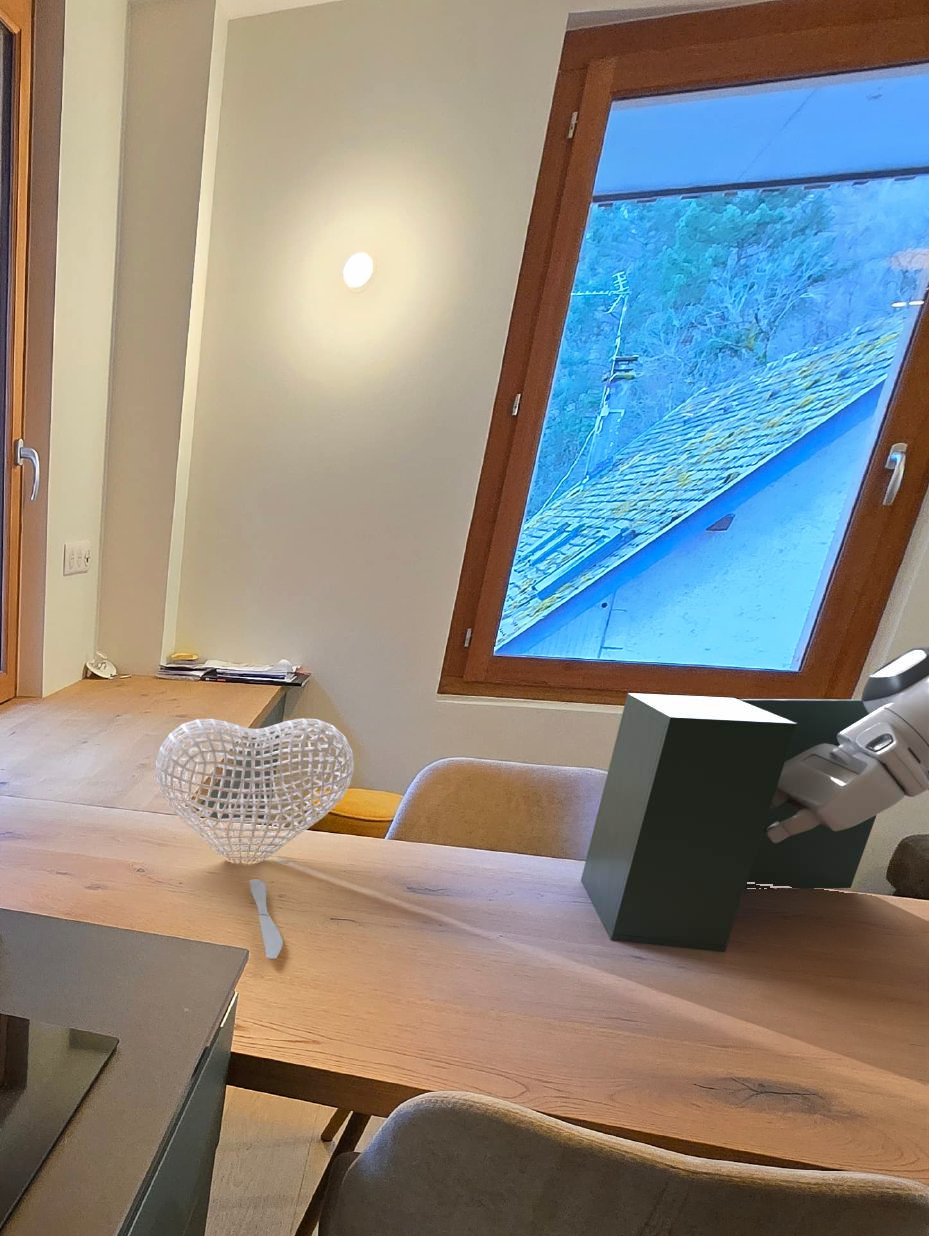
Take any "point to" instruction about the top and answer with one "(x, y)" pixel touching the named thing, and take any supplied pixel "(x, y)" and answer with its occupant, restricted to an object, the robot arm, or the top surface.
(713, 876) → the cupboard
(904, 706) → the robot arm
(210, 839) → the heart
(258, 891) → the butter knife
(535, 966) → the top surface
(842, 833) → the cupboard door
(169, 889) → the top surface
